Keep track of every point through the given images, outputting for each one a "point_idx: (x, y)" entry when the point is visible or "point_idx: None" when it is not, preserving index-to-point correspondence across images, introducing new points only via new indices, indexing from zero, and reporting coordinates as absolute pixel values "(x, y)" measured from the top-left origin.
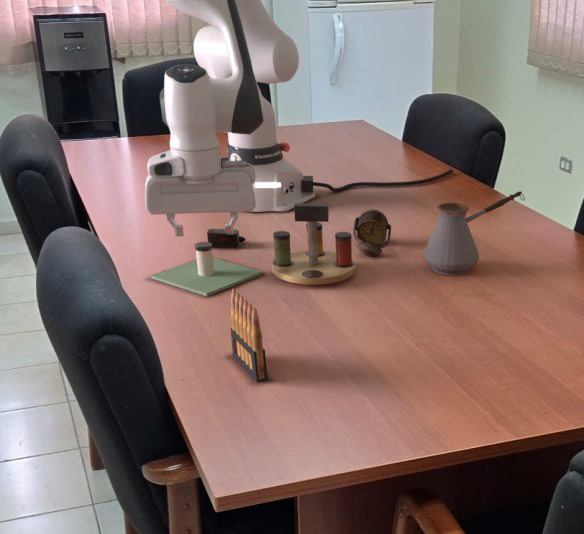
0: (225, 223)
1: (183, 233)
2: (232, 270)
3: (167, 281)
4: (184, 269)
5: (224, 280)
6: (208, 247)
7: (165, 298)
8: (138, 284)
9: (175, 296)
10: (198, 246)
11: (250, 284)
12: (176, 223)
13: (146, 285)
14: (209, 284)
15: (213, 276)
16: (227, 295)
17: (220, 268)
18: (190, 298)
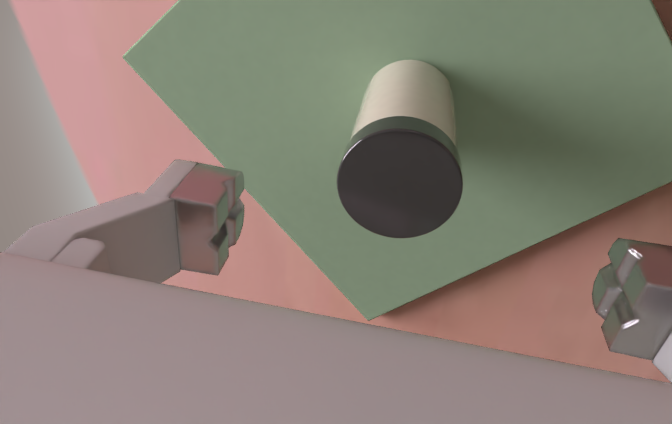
0: (647, 289)
1: (241, 181)
2: (567, 93)
3: (210, 150)
4: (294, 1)
5: (477, 218)
6: (426, 231)
7: (216, 281)
8: (85, 111)
9: (252, 275)
10: (358, 220)
11: (591, 251)
12: (154, 229)
13: (123, 133)
14: (396, 243)
15: None
16: (451, 323)
17: (509, 38)
18: (307, 307)
